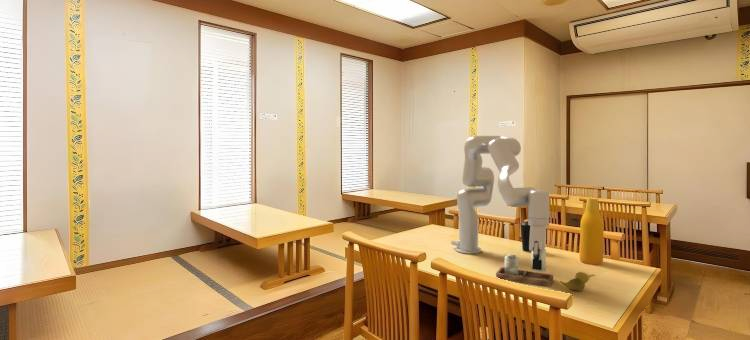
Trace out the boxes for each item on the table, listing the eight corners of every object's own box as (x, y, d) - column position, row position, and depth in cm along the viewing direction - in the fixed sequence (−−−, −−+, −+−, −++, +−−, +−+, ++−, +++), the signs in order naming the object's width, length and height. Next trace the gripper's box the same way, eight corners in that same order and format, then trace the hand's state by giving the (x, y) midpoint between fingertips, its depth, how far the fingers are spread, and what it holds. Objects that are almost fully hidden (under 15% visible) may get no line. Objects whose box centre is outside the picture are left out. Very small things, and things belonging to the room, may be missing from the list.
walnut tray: (496, 278, 156) (496, 256, 155) (501, 271, 164) (501, 251, 163) (550, 286, 146) (550, 264, 145) (553, 279, 153) (553, 257, 153)
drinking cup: (537, 253, 190) (538, 212, 188) (521, 252, 191) (521, 212, 190) (534, 248, 197) (534, 210, 196) (518, 248, 199) (519, 209, 197)
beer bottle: (581, 257, 181) (582, 196, 179) (603, 261, 176) (605, 197, 174) (578, 262, 174) (579, 198, 172) (601, 266, 168) (603, 200, 166)
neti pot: (599, 290, 142) (599, 272, 141) (563, 294, 138) (564, 276, 138) (589, 285, 146) (590, 269, 146) (555, 290, 143) (555, 272, 142)
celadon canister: (530, 270, 151) (530, 248, 150) (532, 266, 155) (532, 245, 154) (544, 272, 148) (544, 249, 147) (546, 268, 152) (546, 246, 152)
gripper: (532, 217, 160) (531, 260, 161) (524, 224, 145) (524, 272, 146) (551, 218, 156) (551, 262, 157) (545, 226, 141) (545, 275, 142)
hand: (538, 266), depth 151 cm, fingers closed on celadon canister, 5 cm apart
